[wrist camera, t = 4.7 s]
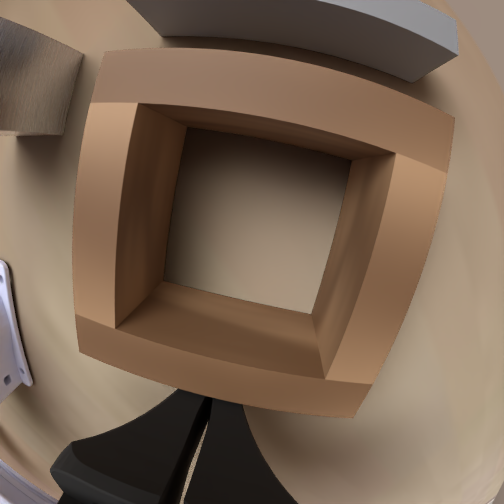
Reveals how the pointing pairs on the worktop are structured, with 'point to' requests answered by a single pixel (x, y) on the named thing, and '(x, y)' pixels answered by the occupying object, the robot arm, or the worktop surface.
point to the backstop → (321, 28)
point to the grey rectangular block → (34, 81)
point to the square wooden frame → (231, 309)
